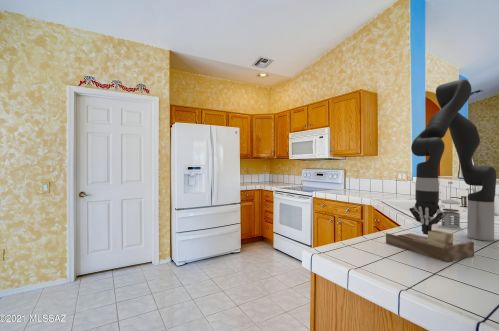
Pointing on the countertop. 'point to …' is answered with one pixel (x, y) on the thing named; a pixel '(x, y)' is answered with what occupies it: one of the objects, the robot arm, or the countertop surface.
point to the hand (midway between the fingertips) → (426, 234)
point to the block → (440, 238)
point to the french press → (447, 220)
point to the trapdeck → (431, 247)
